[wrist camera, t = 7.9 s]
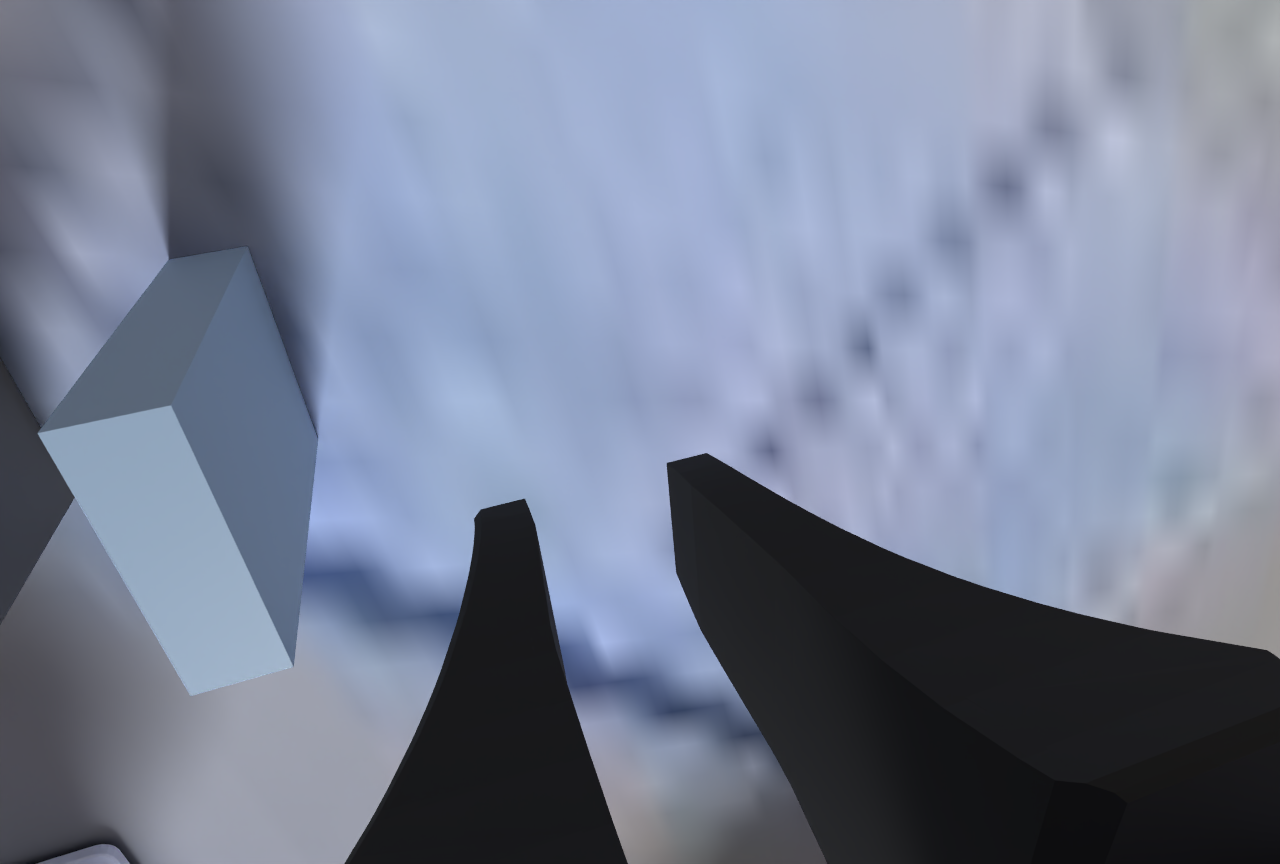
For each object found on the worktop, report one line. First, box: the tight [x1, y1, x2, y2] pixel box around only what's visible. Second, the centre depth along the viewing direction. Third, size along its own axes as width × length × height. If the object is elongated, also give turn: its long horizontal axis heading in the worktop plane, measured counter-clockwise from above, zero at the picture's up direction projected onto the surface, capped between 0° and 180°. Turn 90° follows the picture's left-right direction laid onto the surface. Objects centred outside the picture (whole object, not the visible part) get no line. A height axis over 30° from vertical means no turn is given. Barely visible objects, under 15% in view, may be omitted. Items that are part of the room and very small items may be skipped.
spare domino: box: [38, 246, 318, 696], centre depth 15 cm, size 5×2×8 cm, turn 6°
